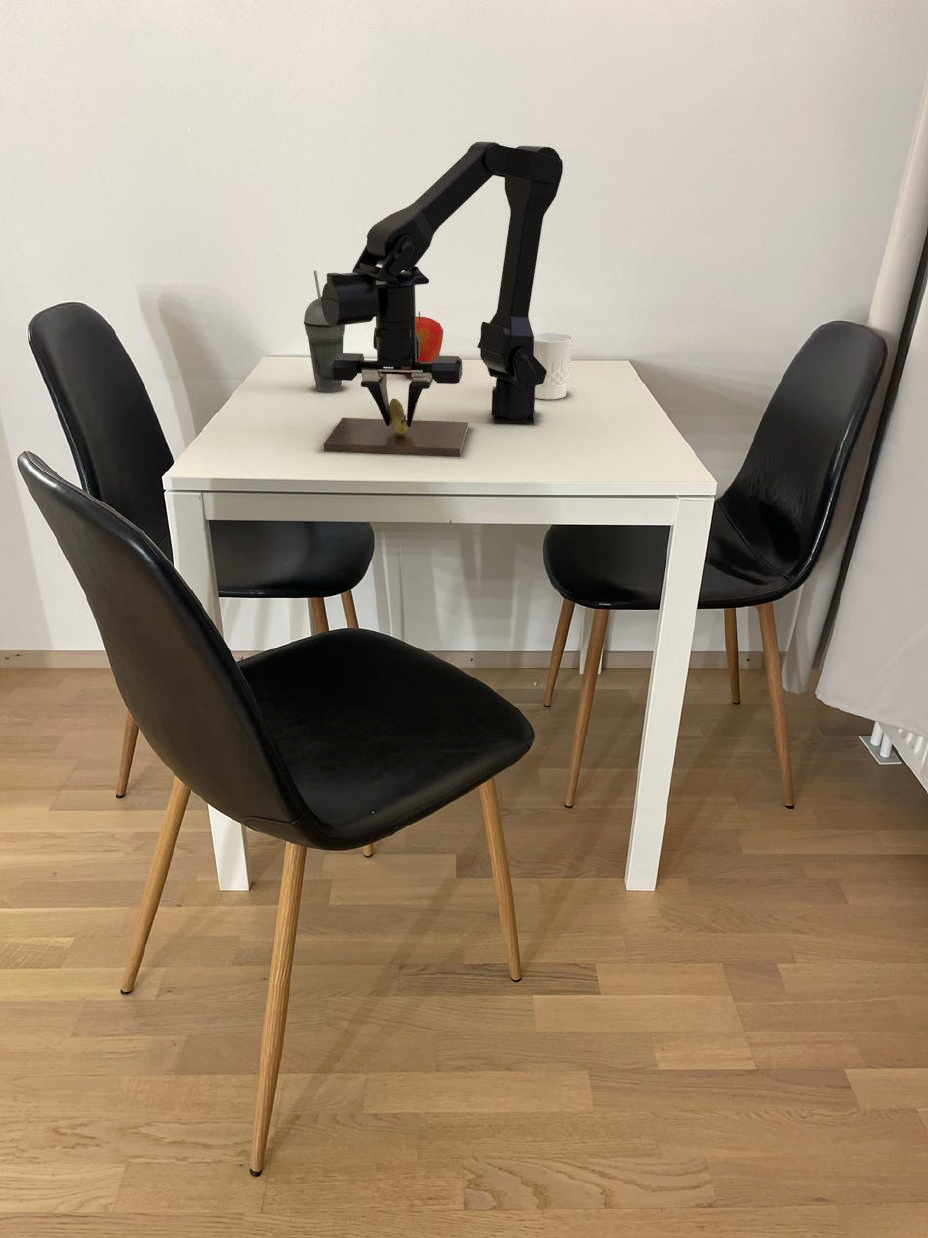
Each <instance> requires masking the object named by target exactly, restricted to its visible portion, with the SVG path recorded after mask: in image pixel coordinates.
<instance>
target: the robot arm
mask: <svg viewBox="0 0 928 1238" xmlns="http://www.w3.org/2000/svg"><path fill="white" fill-rule="evenodd" d="M563 173H564V162H563V159H562V158H561V156H560V154H559V152H558V151H557V150H556V149H554V148H553V147H551V146H540V145H539V146H536V145H518V146H516V147H511V146H506V145H501V144H499V143H498V142H496V141H495V142H494V141H476V142H474V143H473V144H472V145H470V147H469V148H468V149H467V151H466V153H464V154H463V156H461V157H460V158H459V159H458V160H457V161H456V162H455V163H454V164H453V165H452V166H451V167H450V168H449V169H448V170H446V172H444V174H442V176H440V177H439V178H438V179H437V180H436V181H435V182H434V183H433V184H432V185H431V186H430V187H429V188H428V189H426V190H425V191H424V193H423V194H421V195H420V196H419V197H418V198H417V199H416V200H415V201H414V202H413V203H411V204H409V205H408V206H407V207H405V208H402V209H400V210H397V211H395V212H393V213H390V214H389V215H388V216H386V217H384V218H383V219H381V220H379V221H378V222H377V223H375V224H373V225H372V226H371V228H370V229H369V230H368V232H367V234H366V245H365V247H364V248H363V250H362V252H361V253H360V255H359V257H358V259H357V261H356V263H355V264H354V266H353V268H352V270H351V272H345V273H344V272H341V273H339V272H328V273H327V274H326V283H324V285H323V289H322V291H321V292H322V293H321V307H322V311H323V315H324V317H325V320H326V321H327V323H328V324H329V325H330V326H340V325H345V326H346V325H347V326H348V325H355V324H364V323H371V322H372V321H373V320H374V318H375V327H374V331H373V341H372V342H373V349H374V350H375V351H376V358H377V359H376V360H372V359H371V360H370V359H369V360H368V359H365V356H364V353H360V352H358V353H357V352H343V353H340V354H339V355H338V356H337V358H336V359H335V360H334V361H333V362H332V363H331V379H332V380H337V381H342V382H343V381H344V382H352V381H353V380H354V379H355V378H356V377H357V376H358V374H361V382H360V387H362V388H367V390H368V392H369V393H370V395H371V396H372V398H373V400H374V401H375V402H376V405H377V408H378V409H379V412H380V414H381V416H382V419H384V421H385V423H386V425H387V426H389V425H390V409H389V404H390V401H389V394H388V388H387V387H388V382H387V381H388V378H387V377H388V376H387V375H401V376H408V375H412V377H411V381H410V383H409V384H408V392H407V393H408V395H407V407H406V408H407V411H406V420H407V425H408V427H410V426H411V423H412V420H414V416H415V413H416V410H417V406H418V402H419V400H420V397H421V394H422V392H423V390H428V389H430V388H431V386H432V384H433V382H435V383H436V384H441V385H442V384H443V385H444V384H445V385H457V384H460V382H461V379H462V376H463V360H462V358H461V357H460V356H459V355H440V356H435V358H434V360H433V362H417V359H419V358H420V336H419V335H418V334H417V333H416V317H417V315H416V313H417V312H416V311H417V310H416V309H417V308H416V307H417V306H416V286H420V285H428V284H429V283H430V279H429V277H427V276H426V275H424V274H423V272H422V271H421V270H420V268H419V266H416V265H417V264H418V263H419V262H420V260H421V259H422V258H423V256H424V255H425V254H426V252H427V251H428V250H429V248H430V246H431V245H432V241H433V238H434V235H435V233H436V232H437V231H438V230H439V228H441V226H442V225H443V224H444V223H445V222H446V221H447V220H448V219H449V218H450V217H452V216H453V215H454V213H455V212H457V211H458V210H459V209H460V208H461V207H462V206H463V205H464V204H465V203H466V202H467V201H468V200H469V199H470V198H471V197H473V196H474V195H475V193H477V191H479V190H480V189H481V188H482V187H483V186H484V185H485V184H486V183H487V182H488V181H489V180H490V179H491V178H492V177H493V176H495V177H499V178H504V193H505V196H506V199H507V202H508V207H509V212H510V215H509V222H508V227H507V235H506V244H505V250H504V258H503V264H502V271H501V278H500V287H499V293H498V299H497V300H498V301H497V309H496V312H495V314H494V315H493V316H492V318H491V320H490V321H489V322H487V321H482V322H481V325H480V337H479V338H480V339H479V342H478V343H477V349H479V356H480V360H481V361H482V362H483V363H484V365H485V366H486V368H487V371H488V375H489V377H491V378H496V380H495V386H493V387H492V391H491V415H492V416H493V422H494V423H503V424H531V425H533V424H535V418H536V410H535V407H536V406H535V405H536V398H535V387H536V385H540V384H543V383H544V380H545V377H546V373H547V370H546V369H545V368H544V367H543V366H542V365H541V363H540V362H539V361H538V360H537V359H536V358H535V356H534V335H533V333H534V332H533V329H532V323H531V321H530V315H529V314H530V308H531V301H532V294H533V288H534V281H535V275H536V268H537V262H538V255H539V249H540V241H541V234H542V228H543V221H544V217H545V214H546V213H547V211H548V210H549V208H550V207H551V205H552V203H554V201H555V199H556V197H557V194H558V191H559V187H560V184H561V180H562V177H563ZM402 367H403V369H402ZM405 367H406V369H405ZM407 368H409V369H407ZM410 368H411V369H410Z"/></svg>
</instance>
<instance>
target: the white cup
mask: <svg viewBox="0 0 928 1238" xmlns="http://www.w3.org/2000/svg"><path fill="white" fill-rule="evenodd" d="M533 335H534V356H535V358H536V359H537V360H538V361H539V362H540V363H541V365H542V366H543V367H544V368H545V369H546V370H547V373H546V377H545V380H544V383H543V384H540V385H536V387H535V399H540V400H559V399H562V398H564V397H566V395H567V388H568V381H569V376H570V369H571V367H570V366H571V362H572V361H571V360H572V351H573V344H574V343H573V341H574V336H572V335H570V334H567V333H563V332H556V331H555V332H553V331H541V332H533Z"/></svg>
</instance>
